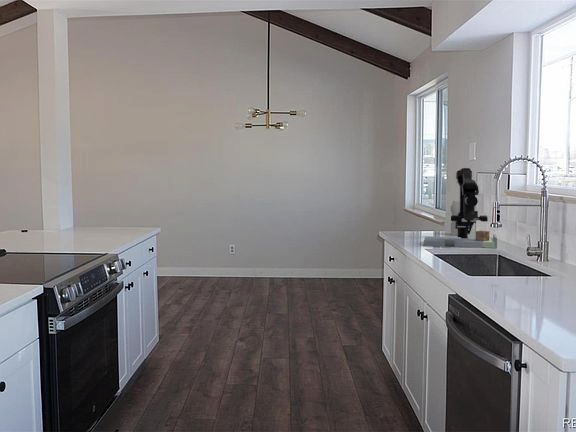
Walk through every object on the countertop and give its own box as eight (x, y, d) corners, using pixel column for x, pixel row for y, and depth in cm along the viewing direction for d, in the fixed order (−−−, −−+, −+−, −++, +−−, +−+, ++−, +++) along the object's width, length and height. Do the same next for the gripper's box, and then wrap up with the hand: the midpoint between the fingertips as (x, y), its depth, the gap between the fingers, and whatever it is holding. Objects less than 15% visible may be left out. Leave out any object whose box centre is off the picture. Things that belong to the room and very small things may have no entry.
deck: (425, 241, 310) (425, 232, 310) (494, 243, 299) (495, 233, 298) (423, 245, 293) (423, 236, 292) (496, 248, 282) (497, 237, 281)
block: (481, 239, 293) (481, 230, 292) (489, 240, 289) (489, 231, 288) (475, 240, 290) (475, 231, 289) (483, 241, 286) (483, 232, 285)
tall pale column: (450, 235, 335) (450, 200, 333) (450, 234, 339) (450, 199, 337) (468, 236, 333) (468, 200, 331) (467, 235, 337) (468, 199, 335)
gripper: (450, 206, 288) (450, 235, 289) (488, 206, 282) (487, 236, 283) (451, 204, 298) (450, 233, 300) (487, 205, 293) (486, 234, 294)
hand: (468, 234), depth 294 cm, fingers closed
